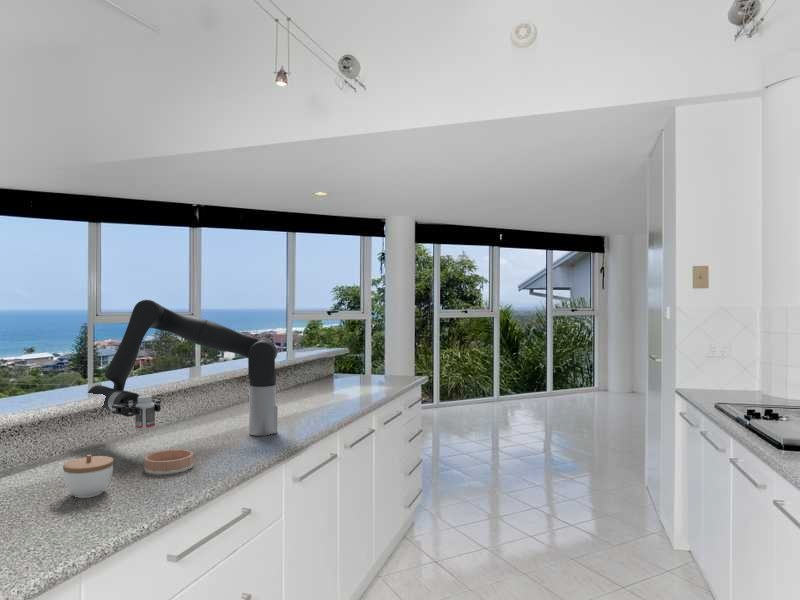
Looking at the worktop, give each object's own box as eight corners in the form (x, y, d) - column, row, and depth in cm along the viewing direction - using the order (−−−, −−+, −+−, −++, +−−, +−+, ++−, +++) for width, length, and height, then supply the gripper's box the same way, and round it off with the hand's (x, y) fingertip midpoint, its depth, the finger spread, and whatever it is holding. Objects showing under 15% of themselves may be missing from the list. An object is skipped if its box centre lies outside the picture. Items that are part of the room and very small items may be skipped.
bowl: (188, 459, 161) (188, 447, 161) (196, 470, 151) (197, 457, 151) (142, 465, 155) (142, 453, 155) (147, 477, 144) (147, 464, 144)
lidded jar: (77, 505, 124) (78, 464, 124) (53, 496, 130) (54, 457, 130) (122, 491, 133) (122, 453, 134) (98, 483, 139) (98, 447, 139)
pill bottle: (154, 425, 167) (154, 394, 167) (155, 429, 162) (154, 397, 162) (135, 427, 165) (134, 395, 165) (135, 431, 160) (134, 398, 160)
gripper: (100, 394, 168) (123, 400, 156) (147, 388, 178) (172, 393, 167) (101, 418, 168) (124, 426, 156) (147, 411, 178) (172, 418, 167)
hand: (148, 409), depth 162 cm, fingers closed on pill bottle, 5 cm apart
